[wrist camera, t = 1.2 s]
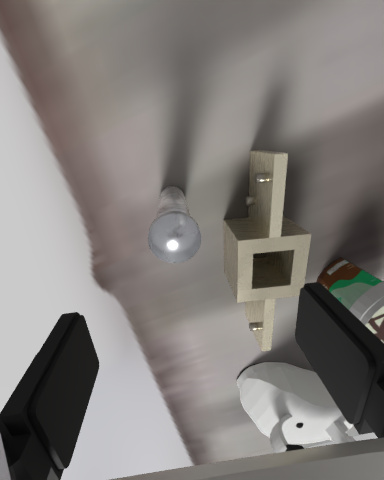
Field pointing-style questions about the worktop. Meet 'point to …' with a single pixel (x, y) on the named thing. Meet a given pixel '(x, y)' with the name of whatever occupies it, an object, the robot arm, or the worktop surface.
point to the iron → (291, 406)
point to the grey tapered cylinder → (174, 228)
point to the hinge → (265, 246)
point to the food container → (357, 293)
